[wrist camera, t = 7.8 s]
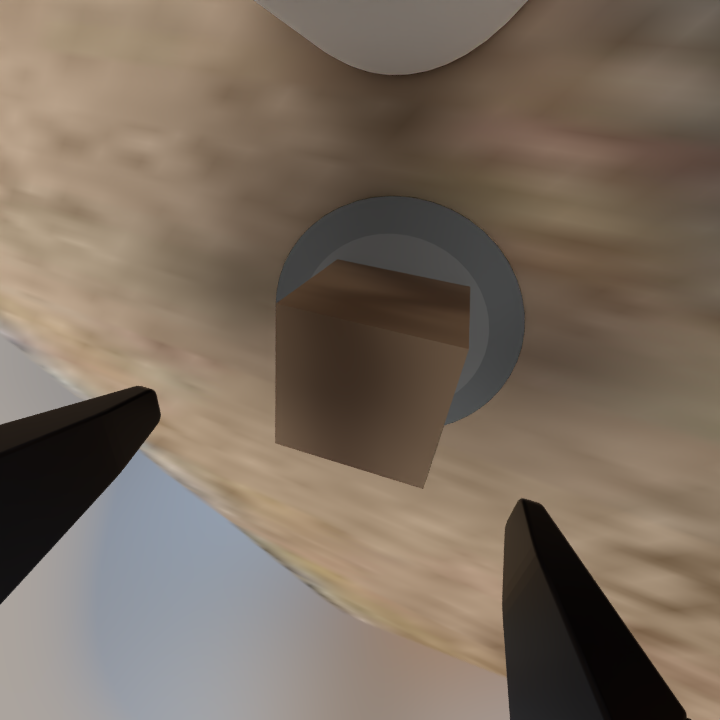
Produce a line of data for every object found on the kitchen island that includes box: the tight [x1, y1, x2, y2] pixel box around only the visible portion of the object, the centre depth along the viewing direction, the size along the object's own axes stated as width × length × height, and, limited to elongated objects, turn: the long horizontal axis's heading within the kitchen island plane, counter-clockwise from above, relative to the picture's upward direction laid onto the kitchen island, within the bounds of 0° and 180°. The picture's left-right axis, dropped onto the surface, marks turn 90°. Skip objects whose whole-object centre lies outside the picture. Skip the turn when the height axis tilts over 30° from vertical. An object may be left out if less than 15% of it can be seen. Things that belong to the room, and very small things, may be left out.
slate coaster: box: [276, 196, 525, 425], centre depth 14 cm, size 10×10×1 cm
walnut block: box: [275, 259, 470, 489], centre depth 12 cm, size 5×5×5 cm
